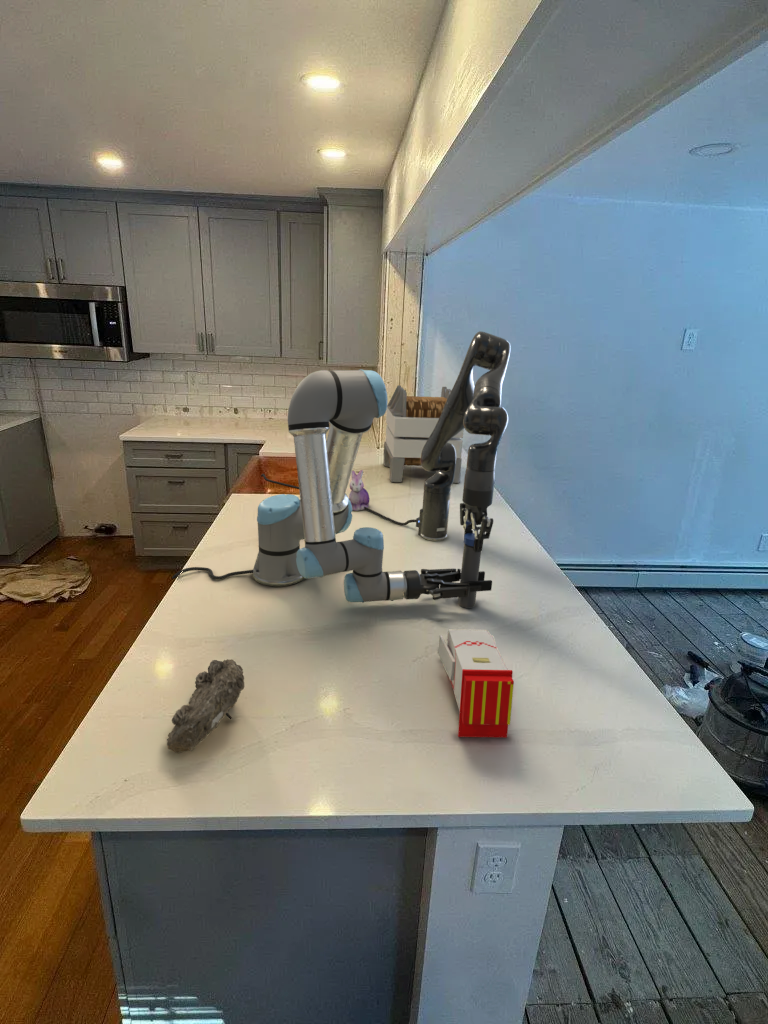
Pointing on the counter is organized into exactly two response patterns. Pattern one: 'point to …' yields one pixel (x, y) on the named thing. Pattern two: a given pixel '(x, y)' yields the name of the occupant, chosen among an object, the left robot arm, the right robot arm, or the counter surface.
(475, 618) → the counter surface
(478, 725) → the toy
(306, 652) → the counter surface
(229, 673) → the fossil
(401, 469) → the grey storage crate
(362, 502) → the figurine
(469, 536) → the lid
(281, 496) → the left robot arm
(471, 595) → the grey cylinder
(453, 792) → the counter surface
